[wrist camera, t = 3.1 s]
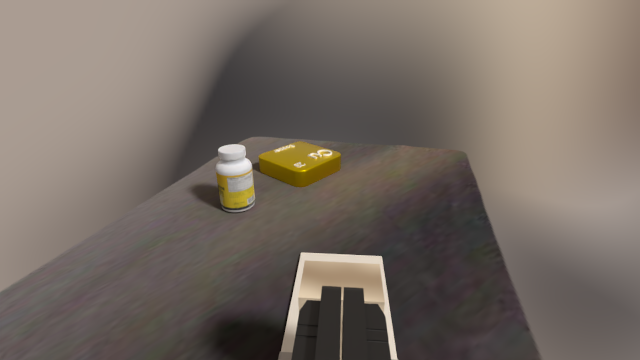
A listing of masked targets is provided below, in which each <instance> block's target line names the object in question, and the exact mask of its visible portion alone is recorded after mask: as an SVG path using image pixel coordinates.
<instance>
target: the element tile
mask: <svg viewBox="0 0 640 360" xmlns="http://www.w3.org/2000/svg"><path fill="white" fill-rule="evenodd" d="M259 167H260V172H261V173H263V174H266V175H268V176H271V177H273V178H275V179H278V180H280V181H283V182H285V183H287V184H290V185H292V186H295V187H305V186H308V185H310V184H312V183H314V182H317V181H319V180H321V179H323V178H325V177H327V176H329V175H331V174H333V173H335V172H337V171H339V170H340V169H341V154H340V153H339V152H336V151H333V150H329V149H326V148H322V147H319V146H316V145H312V144H309V143H305V142H301V141H299V142H295V143H292V144H289V145H286V146H283V147H280V148H277V149H274V150H271V151H268V152H265V153H263V154H260V155H259Z"/></svg>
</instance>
